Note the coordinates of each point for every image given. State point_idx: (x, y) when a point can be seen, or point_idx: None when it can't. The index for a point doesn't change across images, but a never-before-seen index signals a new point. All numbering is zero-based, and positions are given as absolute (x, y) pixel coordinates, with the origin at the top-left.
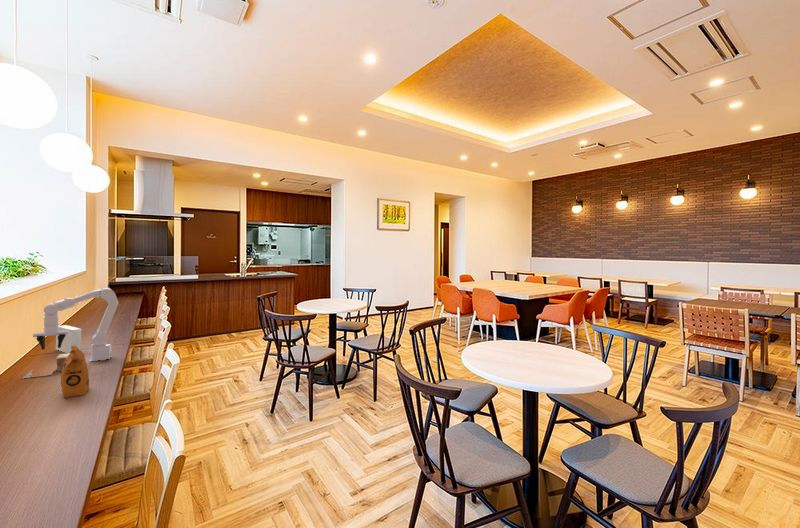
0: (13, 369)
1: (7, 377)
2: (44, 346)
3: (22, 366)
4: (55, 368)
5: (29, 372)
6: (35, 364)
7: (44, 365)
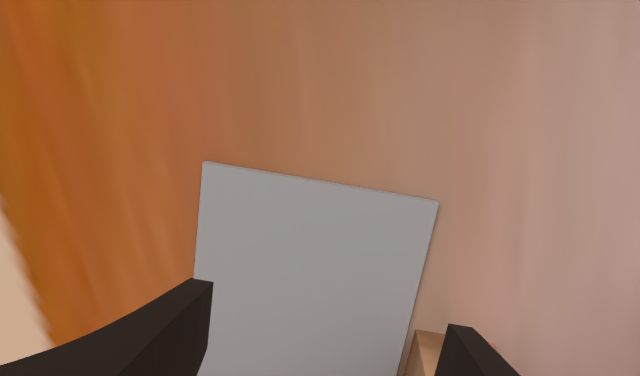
0: (14, 113)
1: None
2: (195, 329)
3: (59, 24)
4: (379, 350)
5: None
6: (168, 8)
7: (267, 125)
